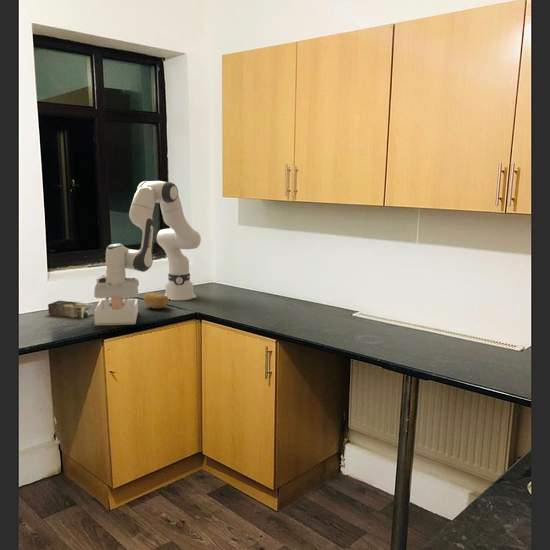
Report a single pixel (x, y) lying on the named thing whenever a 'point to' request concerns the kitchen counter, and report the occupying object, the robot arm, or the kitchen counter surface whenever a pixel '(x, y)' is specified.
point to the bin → (116, 313)
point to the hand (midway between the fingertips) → (117, 306)
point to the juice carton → (70, 309)
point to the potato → (155, 300)
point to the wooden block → (116, 303)
